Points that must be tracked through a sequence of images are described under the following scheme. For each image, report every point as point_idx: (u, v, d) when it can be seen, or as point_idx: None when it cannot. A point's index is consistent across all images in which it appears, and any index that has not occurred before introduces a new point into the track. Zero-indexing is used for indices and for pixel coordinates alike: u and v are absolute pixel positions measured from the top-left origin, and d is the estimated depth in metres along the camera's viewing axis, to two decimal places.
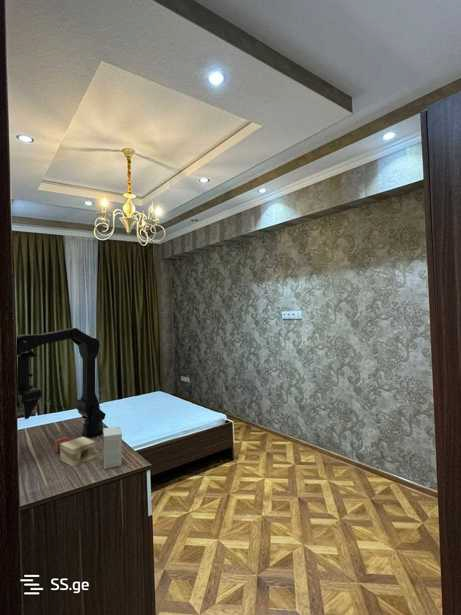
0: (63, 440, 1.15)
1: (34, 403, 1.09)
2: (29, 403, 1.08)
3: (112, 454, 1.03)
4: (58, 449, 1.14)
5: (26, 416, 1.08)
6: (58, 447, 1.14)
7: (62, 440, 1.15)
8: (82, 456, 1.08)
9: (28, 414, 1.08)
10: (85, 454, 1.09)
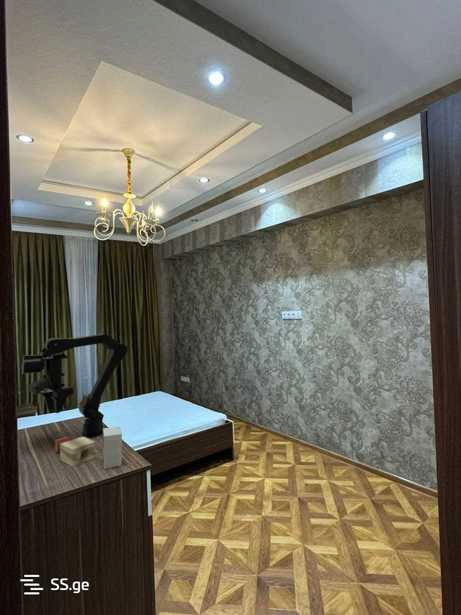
0: (63, 440, 1.15)
1: (64, 399, 1.22)
2: (60, 399, 1.21)
3: (112, 454, 1.03)
4: (58, 449, 1.14)
5: (57, 410, 1.21)
6: (58, 447, 1.14)
7: (62, 440, 1.15)
8: (82, 456, 1.08)
9: (59, 409, 1.21)
10: (85, 454, 1.09)
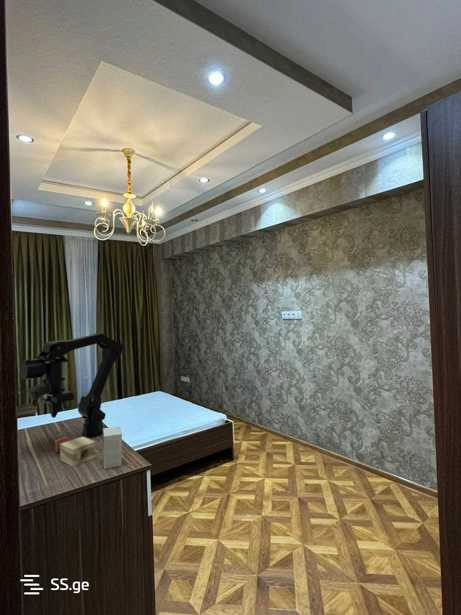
0: (63, 440, 1.15)
1: (61, 403, 1.20)
2: (56, 403, 1.19)
3: (112, 454, 1.03)
4: (58, 449, 1.14)
5: (54, 415, 1.19)
6: (58, 447, 1.14)
7: (62, 440, 1.15)
8: (82, 456, 1.08)
9: (55, 413, 1.19)
10: (85, 454, 1.09)
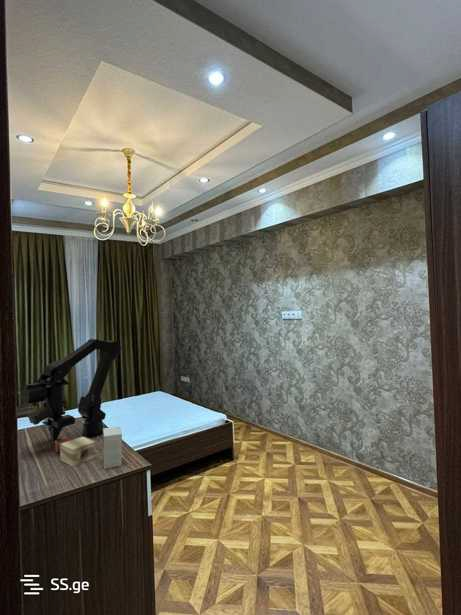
0: (63, 440, 1.15)
1: (61, 426, 1.19)
2: None
3: (112, 454, 1.03)
4: (58, 449, 1.14)
5: (54, 438, 1.18)
6: (58, 447, 1.14)
7: (62, 440, 1.15)
8: (82, 456, 1.08)
9: (56, 436, 1.19)
10: (85, 454, 1.09)
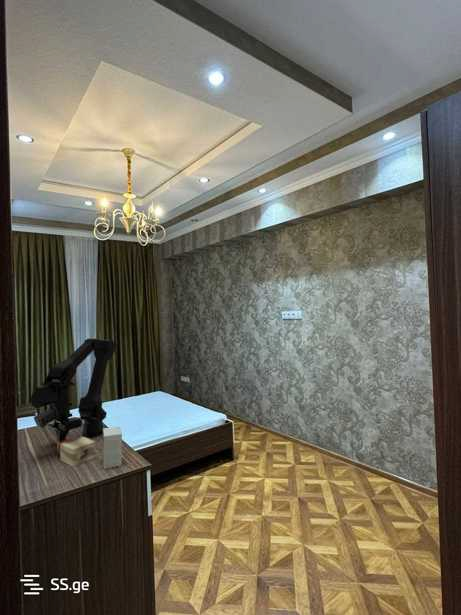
0: (65, 441, 1.14)
1: None
2: (64, 429, 1.16)
3: (112, 454, 1.03)
4: None
5: None
6: None
7: (64, 441, 1.14)
8: (82, 456, 1.08)
9: None
10: (85, 454, 1.09)
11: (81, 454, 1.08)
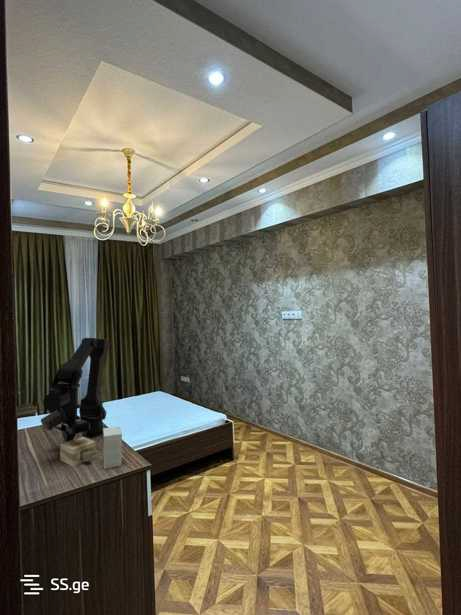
0: None
1: None
2: None
3: (112, 454, 1.03)
4: None
5: None
6: None
7: None
8: None
9: None
10: None
11: (89, 458, 1.05)
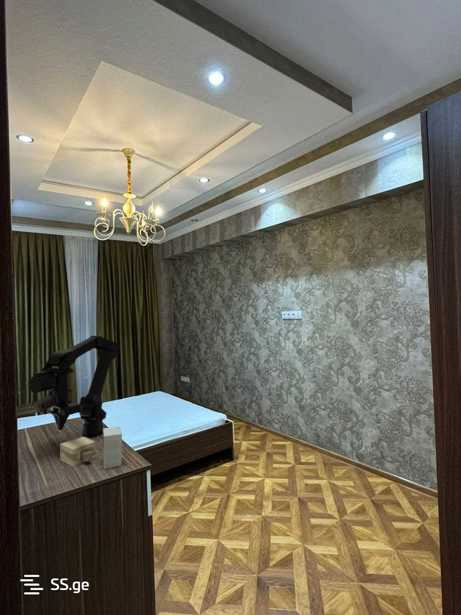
0: None
1: (67, 415, 1.18)
2: (63, 415, 1.17)
3: (112, 454, 1.03)
4: None
5: (60, 427, 1.17)
6: None
7: None
8: None
9: (62, 425, 1.17)
10: None
11: (89, 458, 1.05)
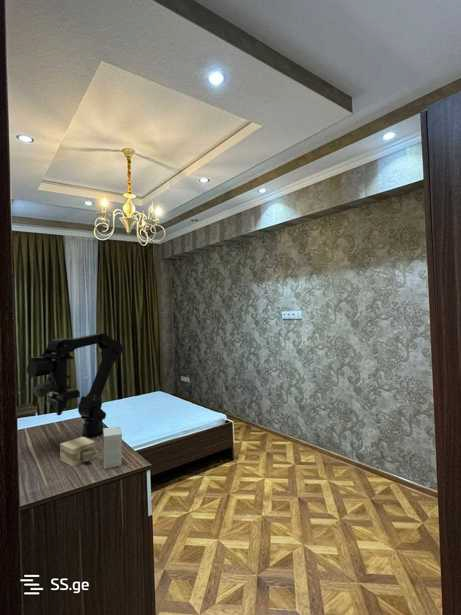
0: None
1: (66, 401, 1.19)
2: (62, 401, 1.19)
3: (112, 454, 1.03)
4: None
5: (59, 412, 1.19)
6: None
7: None
8: None
9: (61, 411, 1.19)
10: None
11: (89, 458, 1.05)
